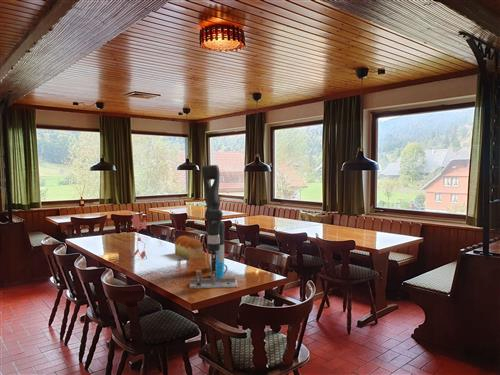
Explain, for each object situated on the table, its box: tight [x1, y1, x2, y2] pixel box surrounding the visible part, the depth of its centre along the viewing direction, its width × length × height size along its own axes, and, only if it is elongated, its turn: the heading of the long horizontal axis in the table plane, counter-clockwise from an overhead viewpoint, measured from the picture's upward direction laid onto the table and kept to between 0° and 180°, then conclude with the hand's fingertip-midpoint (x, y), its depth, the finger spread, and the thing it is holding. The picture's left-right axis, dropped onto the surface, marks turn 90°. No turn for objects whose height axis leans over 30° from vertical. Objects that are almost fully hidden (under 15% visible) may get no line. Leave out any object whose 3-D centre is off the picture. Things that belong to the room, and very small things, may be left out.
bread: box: [174, 235, 204, 260], centre depth 304 cm, size 25×12×15 cm, turn 36°
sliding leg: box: [210, 263, 216, 283], centre depth 227 cm, size 8×3×10 cm, turn 6°
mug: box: [216, 262, 228, 278], centre depth 247 cm, size 12×8×8 cm
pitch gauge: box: [189, 269, 239, 289], centre depth 227 cm, size 10×28×8 cm, turn 96°
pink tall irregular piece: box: [126, 213, 148, 262], centre depth 292 cm, size 15×26×35 cm, turn 45°
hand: (213, 269), depth 229 cm, fingers open, 7 cm apart
